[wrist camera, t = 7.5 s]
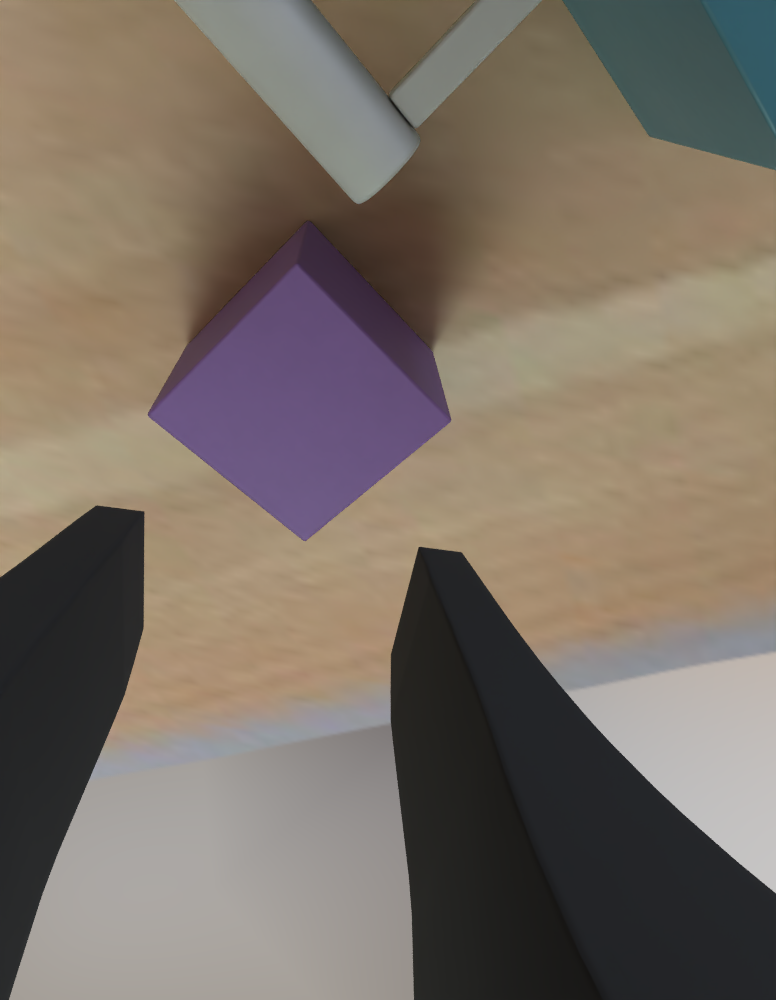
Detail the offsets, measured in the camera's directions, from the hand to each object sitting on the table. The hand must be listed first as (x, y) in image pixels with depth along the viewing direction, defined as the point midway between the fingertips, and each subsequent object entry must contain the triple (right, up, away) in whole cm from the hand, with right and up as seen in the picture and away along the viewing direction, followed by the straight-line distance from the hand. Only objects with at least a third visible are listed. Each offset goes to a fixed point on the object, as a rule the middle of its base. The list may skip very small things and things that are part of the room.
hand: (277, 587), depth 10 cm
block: (0, +5, +8) cm, 9 cm away
